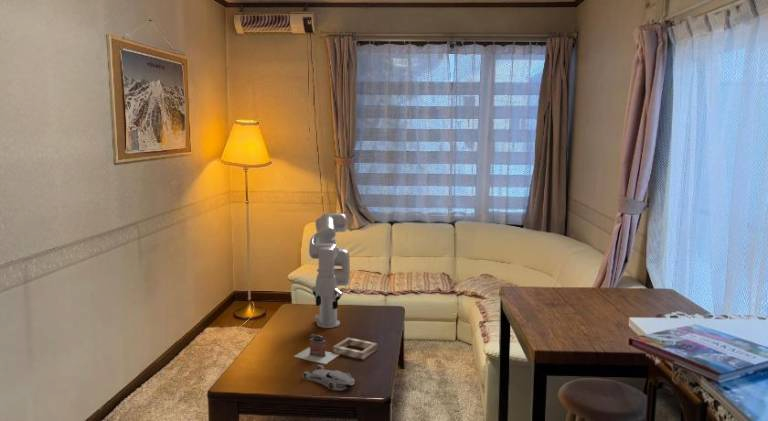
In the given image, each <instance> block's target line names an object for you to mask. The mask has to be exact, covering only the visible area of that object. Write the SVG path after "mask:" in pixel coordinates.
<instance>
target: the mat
mask: <svg viewBox="0 0 768 421" xmlns="http://www.w3.org/2000/svg"><path fill="white" fill-rule="evenodd" d="M325 354H326V356H325V357H316V356H311V355H310V347H307V348H305V349H304V350H302V351H300V352H299V353H297V354H296V355H294V356H293V357H294V358H297V359H302V360H304V361H305V360H306V361H308V362H309V361H310V362H314V363H318V364H321V365H327V364H329V363H331V362H332V361H333V360H335V359H336V358H338V357H339V356H340V355H341V354H336V353H333V352H330V351H327V350H325Z"/></svg>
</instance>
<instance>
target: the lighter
mask: <svg viewBox="0 0 768 421" xmlns="http://www.w3.org/2000/svg"><path fill="white" fill-rule="evenodd" d="M326 343H327V342H326V340H325V339H324V336H323V335H321V334H315V333H314V334H311V335H310V339H309V348H310V355H311V356H316V357H325V356H326V354H325V351H326Z"/></svg>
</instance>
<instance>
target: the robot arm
mask: <svg viewBox="0 0 768 421" xmlns="http://www.w3.org/2000/svg"><path fill="white" fill-rule="evenodd" d="M315 228H316V233H314V234H313V235H312V236H311V238H310V240H309V248H308V253H309V254H308V255H309V256H310V258H311V259H313V260H318V268H317V269H316V272H317V275H316V278H315V285H314V286H313V287H311V291H312V294H313V295H314V298H315V306H316V307H318V306H319V314H315V315H314V320H317V322H316V325H317V327H320V328H323V329H333V328H336V327H337V328H338V327H339V326H340V323H341V322H340V320H339V319H338V308H339V302H338V301H340V299H341V298H342V296H343V292H342V291H340V290H339V289H338V287H345V286H349V284H350V282H351V269H350V268H351V266H350V262H351V261H350V260H351V259H350V253H349V251H348V249H345V248H339V247H338V244H337V241H336V238H335V237H336V233H346V231H347V229H348V218H347V215H346V214H344V213H336V212H335V213H324V214H322V215H321V216H320V217H318V218H317V219H316V220H315ZM335 267H339V268H335Z"/></svg>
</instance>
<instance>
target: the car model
mask: <svg viewBox="0 0 768 421" xmlns="http://www.w3.org/2000/svg"><path fill="white" fill-rule="evenodd" d="M302 378H303V379H304V380H307V381H312V382H315V383H318V384H321V385H322V386H323V385H324V387H326V388H328V389H329V390H332V391H340V392H341V391H344V390H347V389H348V387H353V385H355V379H354V378H353V377H352V375H351V373H350V372H342V371H340V370H332V369H331V370H330V369H325V367H324V364H321V363H319V364H318V365H316V369H315V370H313V371H312V372H311V373H310V372H309V371H307V370H304V372H302Z"/></svg>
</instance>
